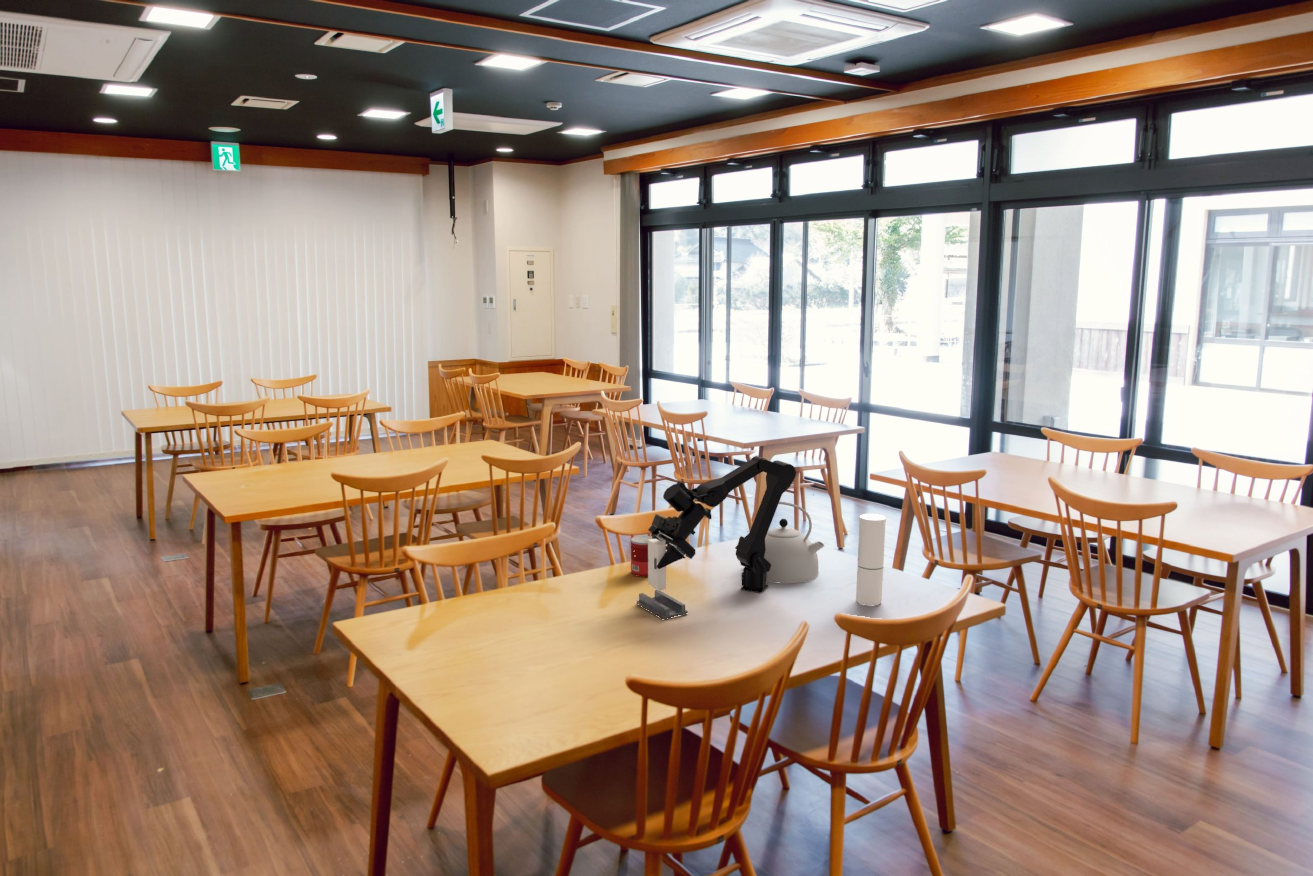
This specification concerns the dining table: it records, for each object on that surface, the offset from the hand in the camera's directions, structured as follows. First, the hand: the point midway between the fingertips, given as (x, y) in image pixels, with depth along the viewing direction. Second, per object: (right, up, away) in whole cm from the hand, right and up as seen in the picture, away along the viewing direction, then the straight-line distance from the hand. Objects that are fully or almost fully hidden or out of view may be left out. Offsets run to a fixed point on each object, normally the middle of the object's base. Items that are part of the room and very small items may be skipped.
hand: (652, 564), depth 249 cm
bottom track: (+3, -12, +1) cm, 13 cm away
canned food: (-3, -7, +31) cm, 32 cm away
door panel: (+1, -6, +2) cm, 7 cm away
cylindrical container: (+62, -12, +7) cm, 63 cm away
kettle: (+42, -7, +33) cm, 53 cm away
